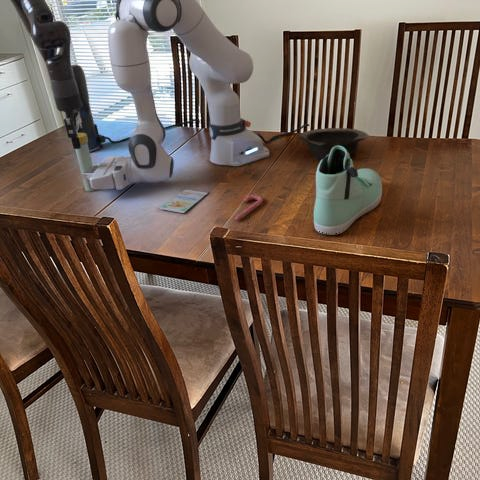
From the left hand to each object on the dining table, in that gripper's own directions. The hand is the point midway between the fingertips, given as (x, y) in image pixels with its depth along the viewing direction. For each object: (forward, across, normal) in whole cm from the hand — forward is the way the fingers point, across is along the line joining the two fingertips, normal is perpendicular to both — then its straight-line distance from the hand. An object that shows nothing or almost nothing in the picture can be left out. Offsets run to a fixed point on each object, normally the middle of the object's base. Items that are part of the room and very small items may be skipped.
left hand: (79, 144), depth 155 cm
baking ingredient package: (+16, +19, +31) cm, 40 cm away
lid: (-3, 0, 0) cm, 3 cm away
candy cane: (+16, +30, +49) cm, 60 cm away
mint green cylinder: (+16, 0, 0) cm, 16 cm away
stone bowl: (+16, -5, +87) cm, 88 cm away
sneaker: (+16, +37, +78) cm, 88 cm away
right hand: (+10, 0, 0) cm, 10 cm away
